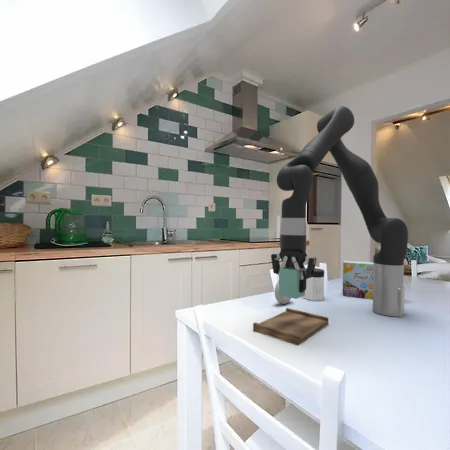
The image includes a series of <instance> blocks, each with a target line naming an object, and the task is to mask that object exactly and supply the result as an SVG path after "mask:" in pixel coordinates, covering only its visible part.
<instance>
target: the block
mask: <svg viewBox="0 0 450 450" xmlns="http://www.w3.org/2000/svg"><path fill="white" fill-rule="evenodd" d="M299 280H300V278H299V270H296V269H295V268H292V267H287V268H280V280H279V279H278V281H279V295H280V296H285V297H290V298H291V299H295V300H297V299H300V298H303V296H305V291H304V292H302V293H301V292H299Z"/></svg>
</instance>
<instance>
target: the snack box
mask: <svg viewBox="0 0 450 450" xmlns="http://www.w3.org/2000/svg"><path fill="white" fill-rule="evenodd" d="M341 289H342V291H341V292H342V296H343V297H350V298H351V297H353V298H359V299H368V300H373V261H372V262H371V261H357V260H342V287H341Z"/></svg>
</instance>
